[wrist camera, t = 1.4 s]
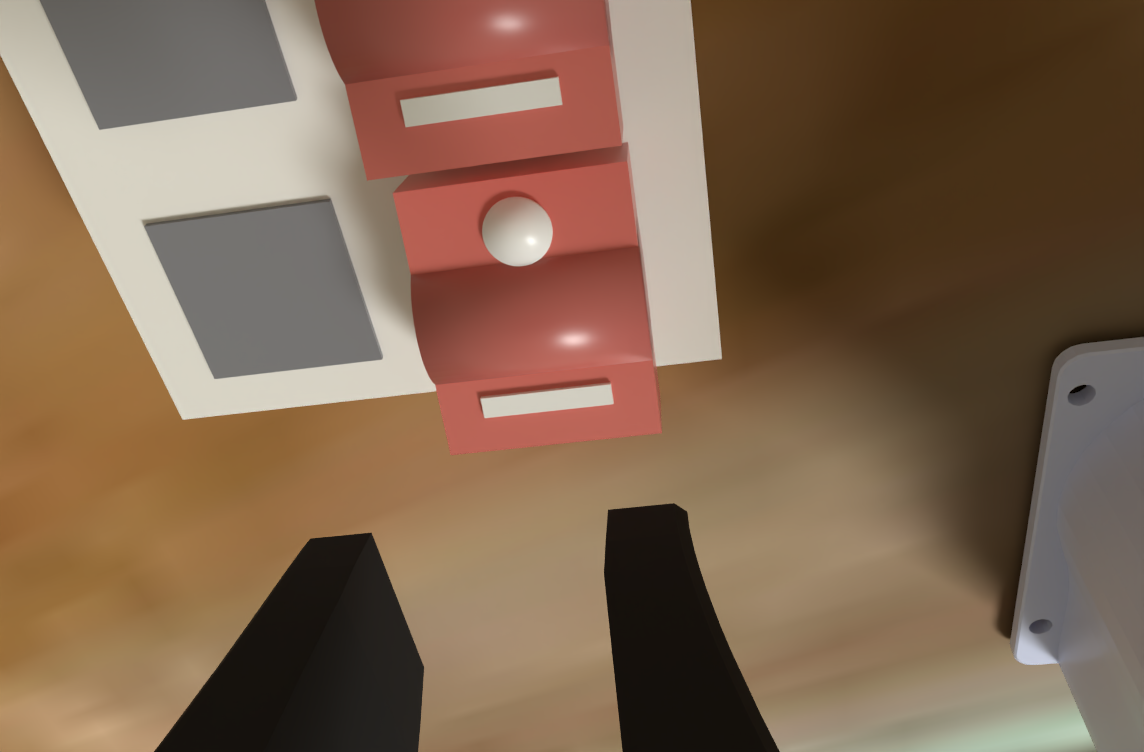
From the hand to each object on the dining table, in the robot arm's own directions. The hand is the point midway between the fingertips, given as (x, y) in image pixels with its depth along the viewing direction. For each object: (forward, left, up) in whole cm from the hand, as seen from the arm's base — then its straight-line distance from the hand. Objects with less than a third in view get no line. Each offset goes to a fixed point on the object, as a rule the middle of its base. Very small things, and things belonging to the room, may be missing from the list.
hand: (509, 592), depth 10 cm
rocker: (0, 0, -5) cm, 5 cm away
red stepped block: (+4, 0, -5) cm, 7 cm away
